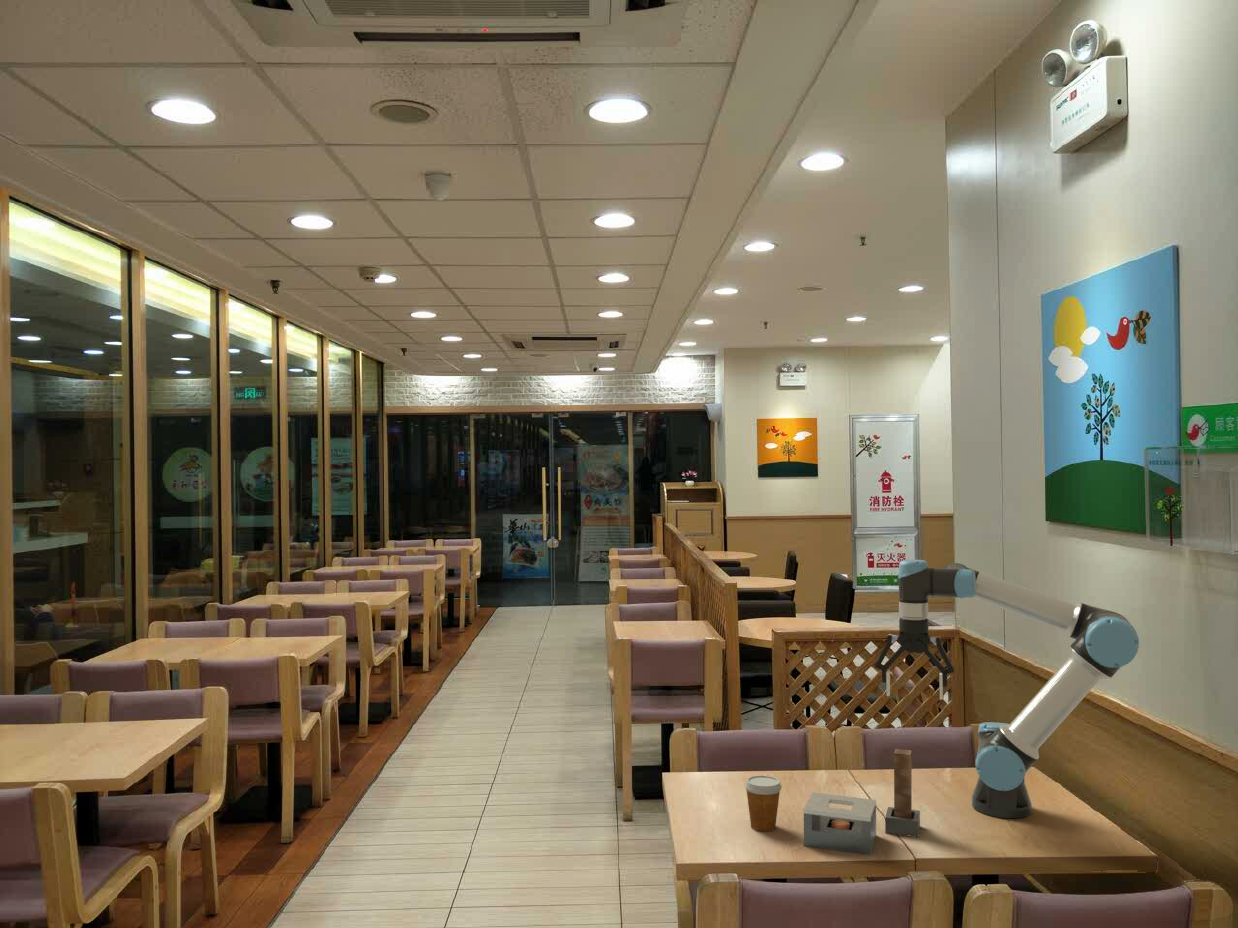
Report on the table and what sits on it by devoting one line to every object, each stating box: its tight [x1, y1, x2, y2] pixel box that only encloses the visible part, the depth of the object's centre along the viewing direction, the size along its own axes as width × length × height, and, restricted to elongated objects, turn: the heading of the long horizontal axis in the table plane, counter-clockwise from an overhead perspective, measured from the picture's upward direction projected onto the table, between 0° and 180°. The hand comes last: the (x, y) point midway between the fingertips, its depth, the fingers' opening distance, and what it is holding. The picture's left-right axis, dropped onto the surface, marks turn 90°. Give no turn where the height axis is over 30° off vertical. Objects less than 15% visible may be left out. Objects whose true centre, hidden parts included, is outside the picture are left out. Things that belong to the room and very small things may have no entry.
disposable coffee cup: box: [744, 775, 782, 832], centre depth 246 cm, size 10×10×12 cm
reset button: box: [831, 820, 850, 830], centre depth 237 cm, size 4×4×4 cm
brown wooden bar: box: [893, 748, 913, 819], centre depth 244 cm, size 4×4×20 cm
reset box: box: [803, 791, 877, 856], centre depth 237 cm, size 16×13×9 cm
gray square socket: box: [884, 806, 921, 838], centre depth 244 cm, size 8×8×4 cm
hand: (914, 696), depth 255 cm, fingers open, 13 cm apart
